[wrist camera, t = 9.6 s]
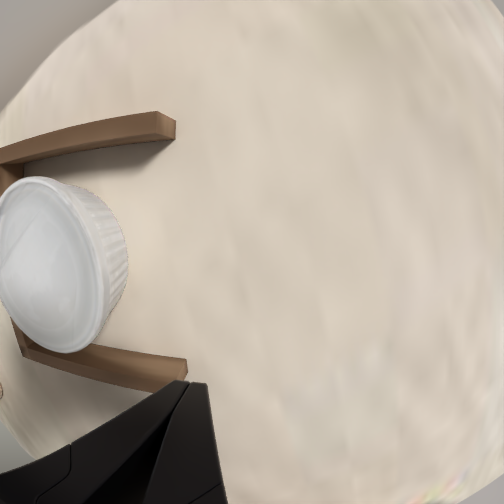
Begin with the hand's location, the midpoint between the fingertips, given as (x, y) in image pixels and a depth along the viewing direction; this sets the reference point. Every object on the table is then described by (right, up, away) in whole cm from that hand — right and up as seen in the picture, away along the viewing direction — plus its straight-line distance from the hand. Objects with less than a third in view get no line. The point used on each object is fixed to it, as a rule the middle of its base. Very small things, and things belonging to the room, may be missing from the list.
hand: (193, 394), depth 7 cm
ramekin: (-11, +4, +13) cm, 17 cm away
